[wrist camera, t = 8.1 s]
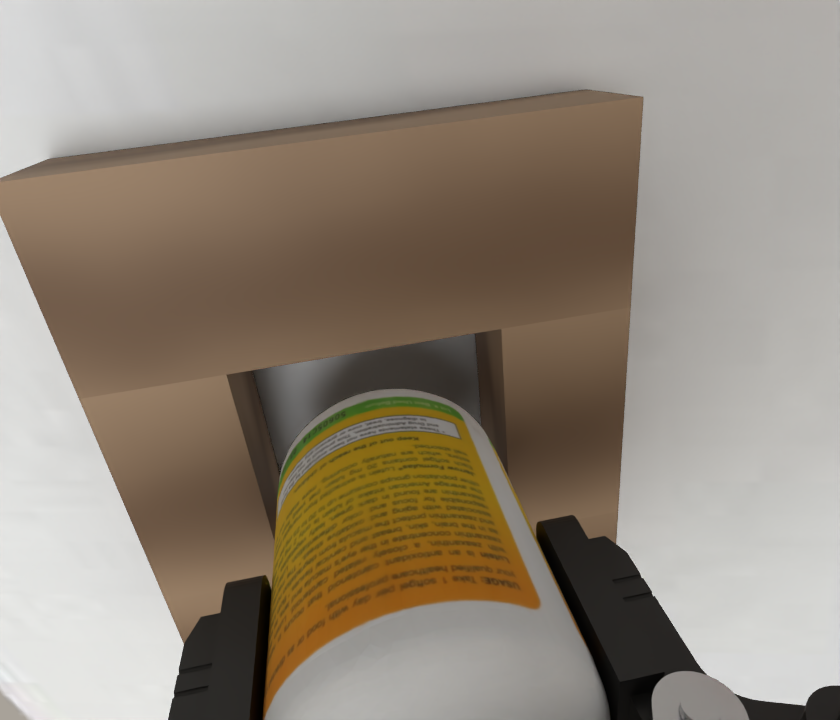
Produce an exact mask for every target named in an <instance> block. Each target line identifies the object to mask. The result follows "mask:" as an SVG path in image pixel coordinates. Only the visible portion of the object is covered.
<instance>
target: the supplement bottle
mask: <svg viewBox="0 0 840 720" xmlns="http://www.w3.org/2000/svg"><path fill="white" fill-rule="evenodd" d="M262 720H611V717H610V709H609V704H608V699H607V695H606V692H605V689H604V686H603V683H602V680H601V678H600V675H599V673H598V671H597V668H596V666H595V663H594V660H593V657H592V655H591V653H590V651H589V648H588V646H587V644H586V642H585V640H584V638H583V636H582V634H581V632H580V630H579V627H578V625H577V623H576V621H575V619H574V617H573V615H572V613H571V611H570V609H569V607H568V604H567V602H566V600H565V598H564V596H563V594H562V592H561V589H560V587H559V585H558V583H557V581H556V579H555V577H554V575H553V573H552V570H551V568H550V566H549V564H548V562H547V560H546V558H545V555H544V553H543V551H542V549H541V547H540V544H539V542H538V540H537V538H536V536H535V534H534V532H533V530H532V528H531V525H530V523H529V521H528V519H527V517H526V514H525V512H524V510H523V508H522V506H521V503H520V501H519V499H518V497H517V495H516V493H515V491H514V489H513V487H512V484H511V482H510V480H509V478H508V476H507V473H506V472H505V470H504V467H503V465H502V463H501V461H500V459H499V457H498V455H497V453H496V450H495V448H494V447H493V445H492V443H491V441H490V440H489V438H488V436H487V435H486V433H485V431H484V430H483V428H482V427H481V426H480V425H479V423H478V422H477V421H476V420H475V419H474V418H473V417H472V416H471V415H470V414H469V413H468V412H467V411H465V410H464V409H463V408H461V407H460V406H458V405H456V404H455V403H453V402H451V401H449V400H447V399H445V398H443V397H440V396H437V395H434V394H431V393H427V392H423V391H417V390H409V389H383V390H375V391H369V392H365V393H361V394H358V395H355V396H352V397H349V398H347V399H345V400H343V401H341V402H338V403H337V404H335V405H333V406H331V407H330V408H328V409H327V410H325V411H324V412H322V413H321V414H319V415H318V416H317V417H316V418H314V419H313V420H312V421H311V422H310V423H309V424H308V425H307V426H306V427H305V428H304V429H303V430H302V431H301V432H300V434H299V435H298V436H297V438H296V439H295V440H294V442H293V444H292V445H291V447H290V449H289V451H288V453H287V455H286V458H285V460H284V463H283V466H282V469H281V473H280V479H279V487H278V495H277V511H276V529H275V543H274V561H273V576H272V590H271V604H270V619H269V634H268V650H267V663H266V677H265V689H264V702H263V716H262Z"/></svg>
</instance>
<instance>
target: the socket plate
mask: <svg viewBox="0 0 840 720" xmlns="http://www.w3.org/2000/svg"><path fill="white" fill-rule="evenodd" d="M642 111H643V97H640V96H632V95H624V94H616V93H609V92H601V91H593V90H578V91H571V92H563V93H555V94H547V95H540V96H532V97H524V98H517V99H509V100H501V101H493V102H486V103H478V104H470V105H463V106H455V107H447V108H439V109H432V110H424V111H416V112H409V113H401V114H393V115H385V116H378V117H370V118H362V119H355V120H347V121H339V122H331V123H324V124H316V125H308V126H300V127H293V128H285V129H277V130H270V131H262V132H254V133H246V134H239V135H231V136H223V137H216V138H208V139H200V140H192V141H185V142H177V143H169V144H162V145H154V146H146V147H138V148H131V149H123V150H115V151H108V152H100V153H92V154H84V155H77V156H69V157H61V158H54V159H47V160H45V161H42V162H40V163H37V164H35V165H32V166H30V167H27V168H25V169H22V170H20V171H17V172H15V173H12V174H10V175H7V176H5V177H2V178H0V216H1V218H2V220H3V223H4V225H5V227H6V230H7V232H8V234H9V237H10V239H11V241H12V244H13V246H14V248H15V251H16V253H17V255H18V258H19V260H20V262H21V265H22V267H23V269H24V272H25V274H26V276H27V279H28V281H29V283H30V286H31V288H32V290H33V293H34V295H35V297H36V300H37V302H38V304H39V307H40V309H41V311H42V314H43V316H44V318H45V321H46V323H47V325H48V328H49V330H50V332H51V335H52V337H53V339H54V342H55V344H56V346H57V349H58V351H59V353H60V356H61V358H62V360H63V363H64V365H65V367H66V370H67V372H68V374H69V377H70V379H71V381H72V384H73V386H74V388H75V391H76V393H77V395H78V398H79V400H80V402H81V405H82V407H83V409H84V412H85V414H86V416H87V419H88V421H89V423H90V426H91V428H92V430H93V433H94V435H95V437H96V440H97V442H98V444H99V447H100V449H101V451H102V454H103V456H104V458H105V461H106V463H107V465H108V468H109V470H110V472H111V475H112V477H113V479H114V482H115V484H116V486H117V489H118V491H119V493H120V496H121V498H122V500H123V503H124V505H125V507H126V510H127V512H128V514H129V517H130V519H131V521H132V524H133V526H134V528H135V531H136V533H137V535H138V538H139V540H140V542H141V545H142V547H143V549H144V552H145V554H146V556H147V559H148V561H149V563H150V566H151V568H152V570H153V573H154V575H155V577H156V580H157V582H158V584H159V587H160V589H161V591H162V594H163V596H164V598H165V601H166V603H167V605H168V608H169V610H170V612H171V615H172V617H173V619H174V622H175V624H176V626H177V629H178V631H179V633H180V636H181V638H182V640H183V643H185V641H186V640H187V638H188V636H189V635H190V633H191V632H192V630H193V628H194V627H195V625H196V624H197V622H198V620H199V619H200V617H202V616H207V615H212V614H217V613H220V612H221V605H222V599H223V593H224V588H225V585H226V583H227V582H232V581H237V580H242V579H247V578H252V577H257V576H262V575H266V576H267V578H268V580H269V583H270V586H271V590H272V576H273V561H274V543H275V529H276V511H277V495H278V487H279V479H280V473H279V470H278V466H277V462H276V458H275V455H274V451H273V447H272V443H271V440H270V436H269V432H268V428H267V425H266V421H265V417H264V413H263V409H262V406H261V402H260V398H259V394H258V391H257V387H256V383H255V379H254V376H253V372H252V370H257V369H263V368H269V367H275V366H281V365H287V364H293V363H299V362H305V361H311V360H317V359H323V358H329V357H335V356H341V355H347V354H353V353H360V352H366V351H372V350H378V349H384V348H390V347H396V346H402V345H408V344H414V343H420V342H426V341H432V340H438V339H444V338H450V337H456V336H462V335H468V334H474V333H475V339H476V353H477V368H478V382H479V397H480V411H481V426H482V428H483V430H484V431H485V433H486V435H487V436H488V438H489V440H490V441H491V443H492V445H493V447H494V448H495V450H496V453H497V455H498V457H499V459H500V461H501V463H502V465H503V467H504V470H505V472H506V473H507V476H508V478H509V480H510V482H511V484H512V487H513V489H514V491H515V493H516V495H517V497H518V499H519V501H520V503H521V506H522V508H523V510H524V512H525V514H526V517H527V519H528V521H529V523H530V525H531V528H532V530H533V532H534V534H535V536H536V524H537V522H539V521H544V520H549V519H554V518H559V517H564V516H569V515H574V516H575V517H576V518H577V520H578V521H579V523H580V525H581V527H582V528H583V530H584V532H585V534H586V535H587V537H588V539H591V538H596V537H601V536H606V537H607V538H609V539H610V540H611V541H613V542H614V543H615V544H616V537H617V521H618V504H619V488H620V471H621V455H622V439H623V422H624V406H625V389H626V373H627V357H628V340H629V324H630V308H631V291H632V275H633V258H634V242H635V226H636V209H637V193H638V176H639V160H640V144H641V127H642Z"/></svg>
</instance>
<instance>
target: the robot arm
mask: <svg viewBox="0 0 840 720" xmlns="http://www.w3.org/2000/svg"><path fill="white" fill-rule="evenodd" d="M536 538H537V540H538V542H539V544H540V547H541V549H542V551H543V553H544V555H545V558H546V560H547V562H548V564H549V566H550V568H551V570H552V573H553V575H554V577H555V579H556V581H557V583H558V585H559V587H560V589H561V592H562V594H563V596H564V598H565V600H566V602H567V604H568V607H569V609H570V611H571V613H572V615H573V617H574V619H575V621H576V623H577V625H578V627H579V630H580V632H581V634H582V636H583V638H584V640H585V642H586V644H587V646H588V648H589V651H590V653H591V655H592V657H593V660H594V663H595V666H596V668H597V671H598V673H599V675H600V678H601V680H602V683H603V686H604V689H605V692H606V695H607V699H608V704H609V709H610V717H611V720H840V686H827V687H823V688H820V689H818V690H816V691H815V692H814V693H812V695H811V696H810V697H809V699H808V701H807V703H806V706H803V705H793V704H784V703H774V702H765V701H758V700H752V699H748V698H745V697H741V696H739V695H737V694H734V693H733V692H732V691H731V690H730V689H729V688H728V687H726V686H725V685H724V684H722V683H721V682H719V681H718V680H716V679H714V678H712V677H710V676H708V675H707V674H706V673H705V672H704V671H703V670H702V669H701V668H700V666H699V665H698V664H697V662H696V661H695V659H694V657H693V656H692V654H691V653H690V651H689V650H688V648H687V646H686V645H685V643H684V642H683V640H682V639H681V637H680V635H679V634H678V632H677V631H676V629H675V628H674V626H673V624H672V623H671V621H670V620H669V618H668V617H667V615H666V613H665V612H664V610H663V609H662V607H661V606H660V604H659V602H658V601H657V599H656V598H655V596H653V595H652V591H651V590H650V588H649V587H648V585H647V584H646V582H645V580H644V579H643V578H641V575H640V572H639V571H638V569H637V568H636V566H635V565H634V563H633V561H632V560H631V558H630V557H629V555H628V554H627V552H626V551H624V550H623V549H622V548H620V547H619V546H618V545H616V544H615V543H614V542H613V541H611V540H610V539H609V538H607V537H606V536H601V537H596V538H591V539H588V537H587V535H586V534H585V532H584V530H583V528H582V527H581V525H580V523H579V521H578V520H577V518H576V517H575V516H574V515H569V516H564V517H559V518H554V519H549V520H544V521H539V522H537V524H536ZM270 604H271V586H270V583H269V580H268V578H267V576H266V575H262V576H257V577H252V578H247V579H242V580H237V581H232V582H227V583H226V585H225V588H224V593H223V599H222V605H221V612H220V613H217V614H212V615H207V616H202V617H200V619H199V620H198V622H197V624H196V625H195V627H194V628H193V630H192V632H191V633H190V635H189V636H188V638H187V640H186V641H185V643H184V648H183V652H182V657H181V662H180V666H179V675H178V676H177V680H176V685H175V690H174V698H173V699H172V704H171V709H170V713H169V718H168V720H262V716H263V702H264V689H265V677H266V663H267V650H268V634H269V619H270Z"/></svg>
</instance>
